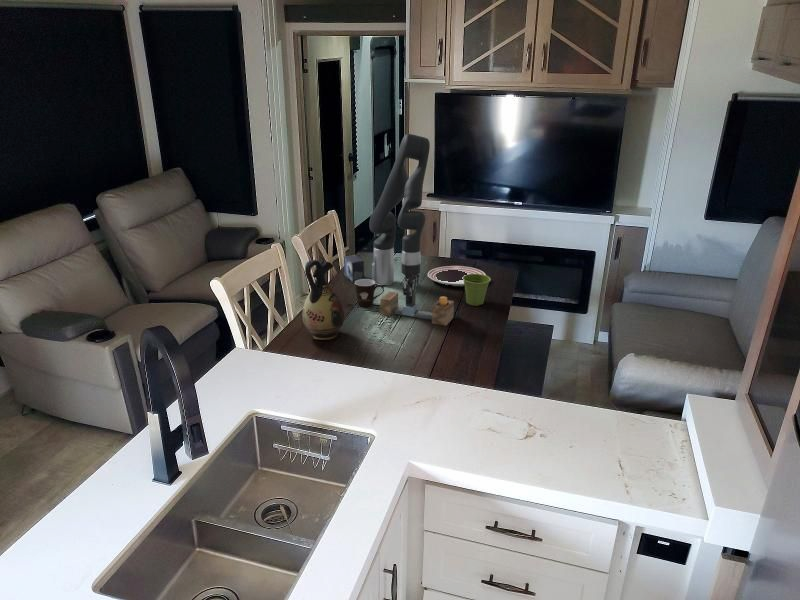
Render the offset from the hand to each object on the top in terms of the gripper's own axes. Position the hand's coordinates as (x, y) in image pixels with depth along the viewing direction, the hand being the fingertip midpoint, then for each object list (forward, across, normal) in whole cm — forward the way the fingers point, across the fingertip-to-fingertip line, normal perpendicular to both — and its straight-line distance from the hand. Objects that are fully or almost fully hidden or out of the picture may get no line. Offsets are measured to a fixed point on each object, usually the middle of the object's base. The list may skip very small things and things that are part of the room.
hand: (410, 302), depth 237 cm
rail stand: (+6, 0, +3) cm, 6 cm away
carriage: (+6, 0, 0) cm, 6 cm away
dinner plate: (+6, -48, +5) cm, 49 cm away
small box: (+6, -30, -40) cm, 51 cm away
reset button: (0, 0, +14) cm, 14 cm away
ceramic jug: (+6, +31, -23) cm, 39 cm away
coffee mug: (+6, -3, -20) cm, 21 cm away
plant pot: (+6, -23, +21) cm, 32 cm away
